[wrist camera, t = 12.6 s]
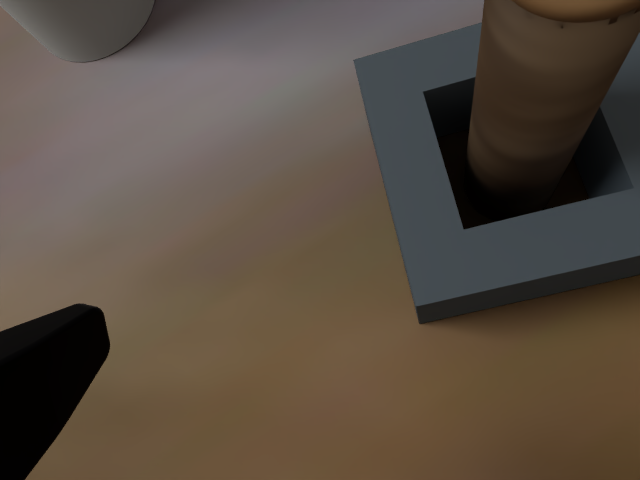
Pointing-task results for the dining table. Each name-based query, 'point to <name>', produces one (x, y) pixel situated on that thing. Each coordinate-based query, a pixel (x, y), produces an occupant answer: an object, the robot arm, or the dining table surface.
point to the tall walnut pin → (539, 94)
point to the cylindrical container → (81, 24)
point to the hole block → (510, 234)
